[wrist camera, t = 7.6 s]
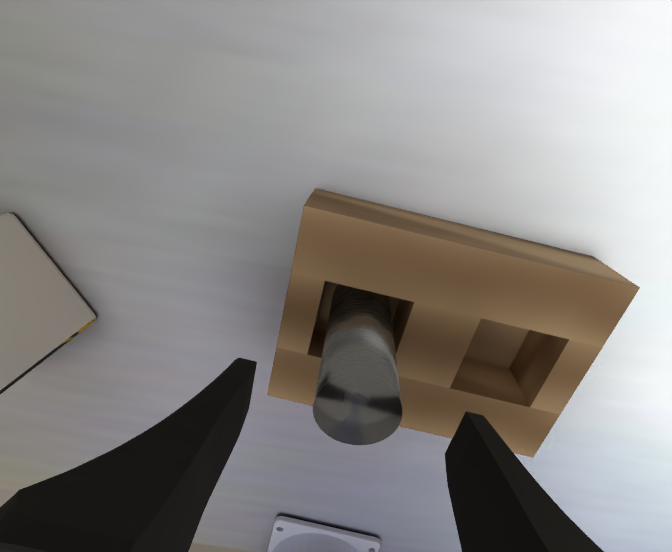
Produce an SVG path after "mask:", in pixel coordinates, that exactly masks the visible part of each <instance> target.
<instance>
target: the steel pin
mask: <svg viewBox="0 0 672 552" xmlns="http://www.w3.org/2000/svg"><path fill="white" fill-rule="evenodd" d="M402 413H403V412H402V402H401V394H400V386H399V377H398V369H397V361H396V353H395V344H394V336H393V328H392V319H391V311H390V303H389V296H387V295H383V294H379V293H374V292H370V291H366V290H362V289H358V288H354V287H349V286H345V285H341V284H338V286H337V287H336V288H335V290H334V292H333V296H332V302H331V307H330V313H329V319H328V324H327V330H326V336H325V341H324V347H323V353H322V358H321V364H320V370H319V376H318V381H317V387H316V393H315V398H314V404H313V414H314V418H315V421H316V422H317V424H318V426H319V427H320V428H321V429H322V431H323V432H324V433H326V434H327V435H328V436H330V437H331V438H333V439H335V440H337V441H340V442H343V443H346V444H352V445H367V444H373V443H376V442H379V441H382V440H384V439H386V438H387V437H389V436H390V435H391V434H392V433H394V431H395V430H396V429H397V428H398V426H399V424H400V422H401V419H402Z"/></svg>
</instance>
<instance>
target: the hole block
mask: <svg viewBox="0 0 672 552" xmlns="http://www.w3.org/2000/svg"><path fill="white" fill-rule="evenodd" d="M338 284H341V285H345V286H349V287H354V288H358V289H362V290H366V291H370V292H374V293H379V294H383V295H387V296H389V303H390V311H391V319H392V328H393V336H394V344H395V353H396V361H397V369H398V377H399V386H400V394H401V402H402V412H403V413H402V419H401V422H400V424H399V426H401V427H405V428H409V429H414V430H418V431H422V432H426V433H431V434H435V435H439V436H444V437H448V438H453V436H454V434H455V432H456V430H457V428H458V426H459V424H460V422H461V420H462V418H463V416H464V414H465V412H466V411H467V412H471V413H475V414H480V415H483V416H484V417H485V418H486V419H487V420H488V422H489V423H490V424H491V425H492V426H493V428H494V429H495V430H496V432H497V433H498V434H499V435H500V437H501V438H502V439H503V441H504V442H505V443H506V444H507V446H508V447H509V448H510V449H511V451H512V452H513V453H516V454H520V455H525V456H529V457H534V455H535V454H536V452H537V450H538V449H539V447H540V446H541V444H542V442H543V441H544V439H545V438H546V436H547V435H548V433H549V431H550V430H551V428H552V427H553V425H554V423H555V422H556V420H557V419H558V417H559V415H560V414H561V412H562V411H563V409H564V408H565V406H566V404H567V403H568V401H569V400H570V398H571V396H572V395H573V393H574V392H575V390H576V388H577V387H578V385H579V384H580V382H581V381H582V379H583V377H584V376H585V374H586V373H587V371H588V369H589V368H590V366H591V365H592V363H593V361H594V360H595V358H596V357H597V355H598V354H599V352H600V350H601V349H602V347H603V346H604V344H605V342H606V341H607V339H608V338H609V336H610V334H611V333H612V331H613V330H614V328H615V327H616V325H617V323H618V322H619V320H620V319H621V317H622V315H623V314H624V312H625V311H626V309H627V307H628V306H629V304H630V303H631V301H632V299H633V298H634V296H635V295H636V293H637V292H638V290H639V288H640V287H638V286H637V285H635V284H634V283H632V282H631V281H629V280H628V279H626V278H625V277H623V276H622V275H620V274H619V273H617V272H616V271H614V270H613V269H611V268H610V267H608V266H607V265H605V264H604V263H602V262H601V261H599V260H598V259H596V258H595V257H592V256H588V255H584V254H580V253H576V252H572V251H568V250H564V249H560V248H556V247H552V246H547V245H543V244H539V243H535V242H531V241H527V240H523V239H519V238H515V237H511V236H507V235H503V234H499V233H494V232H490V231H486V230H482V229H478V228H474V227H470V226H466V225H462V224H458V223H454V222H450V221H446V220H441V219H437V218H433V217H429V216H425V215H421V214H417V213H413V212H409V211H405V210H401V209H397V208H393V207H389V206H384V205H380V204H376V203H372V202H368V201H364V200H360V199H356V198H352V197H348V196H344V195H340V194H336V193H331V192H327V191H323V190H319V189H315V190H314V191H313V193H312V194H311V196H310V197H309V199H308V200H307V202H306V203H305V205H304V208H303V214H302V219H301V224H300V229H299V234H298V239H297V244H296V249H295V255H294V260H293V265H292V270H291V275H290V280H289V285H288V291H287V296H286V301H285V306H284V311H283V316H282V321H281V327H280V332H279V337H278V342H277V347H276V352H275V357H274V363H273V368H272V373H271V378H270V383H269V388H268V393H267V395H269V396H273V397H277V398H281V399H286V400H290V401H294V402H298V403H303V404H307V405H311V406H313V404H314V398H315V393H316V387H317V381H318V376H319V370H320V364H321V358H322V353H323V347H324V341H325V336H326V330H327V324H328V319H329V313H330V307H331V302H332V296H333V292H334V290H335V288H336V287H337V286H338Z"/></svg>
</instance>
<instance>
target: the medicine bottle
mask: <svg viewBox="0 0 672 552" xmlns="http://www.w3.org/2000/svg"><path fill="white" fill-rule="evenodd" d="M95 319H96V316H95V314H94V312H93V311H92V310H91V309H90V308H89V306H88V305H87V304H86V303H85V301H84V300H83V299H82V298H81V296H80V295H79V294H78V293H77V291H76V290H75V289H74V288H73V287H72V285H71V284H70V283H69V282H68V280H67V279H66V278H65V277H64V275H63V274H62V273H61V272H60V270H59V269H58V268H57V267H56V266H55V264H54V263H53V262H52V261H51V259H50V258H49V257H48V256H47V254H46V253H45V252H44V251H43V249H42V248H41V247H40V246H39V245H38V243H37V242H36V241H35V240H34V238H33V237H32V236H31V235H30V233H29V232H28V231H27V230H26V228H25V227H24V226H23V225H22V224H21V222H20V221H19V220H18V219H17V217H16V216H14V215H13V214H10V213H6V214H2V215H0V394H1V393H3V392H4V391H5V390H7V389H8V388H9V387H10V386H12V385H13V384H14V383H16V382H17V381H18V380H19V379H21V378H22V377H23V376H25V375H26V374H27V373H28V372H30V371H31V370H32V369H34V368H35V367H36V366H37V365H39V364H40V363H41V362H43V361H44V360H45V359H46V358H48V357H49V356H50V355H52V354H53V353H54V352H55V351H57V350H58V349H59V348H61V347H62V346H63V345H64V344H66V343H67V342H68V341H70V340H71V339H72V338H73V337H75V336H76V335H77V334H79V333H80V332H81V331H82V330H84V329H85V328H86V327H88V326H89V325H90V324H91V323H93V322H94V321H95Z"/></svg>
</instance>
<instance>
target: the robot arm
mask: <svg viewBox="0 0 672 552" xmlns="http://www.w3.org/2000/svg"><path fill="white" fill-rule="evenodd" d="M256 364H257V362H255V361H251V360H247V359H242V358H238V359H236V360H235V361H234V362H233V363H232V364H231V365H230V366H229V367H228V368H227V369H226V370H225V371H224V372H222V373H221V374H220V375H219V376H218V377H217V378H216V379H215V380H214V381H213V382H212V383H210V384H209V385H208V386H207V387H206V388H204V389H203V390H202V391H201V392H200V393H199V394H197V395H196V396H195V397H194V398H192V399H191V400H190V401H188V402H187V403H186V404H184V405H183V406H182V407H180V408H179V409H178V410H176V411H175V412H174V413H172V414H171V415H169V416H168V417H167V418H165V419H164V420H162V421H161V422H159V423H158V424H156V425H154V426H153V427H151V428H150V429H148V430H147V431H145V432H143V433H142V434H140V435H138V436H136V437H135V438H133V439H131V440H129V441H128V442H126V443H124V444H122V445H121V446H119V447H117V448H115V449H113V450H111V451H109V452H107V453H105V454H103V455H101V456H99V457H97V458H95V459H93V460H91V461H88V462H86V463H84V464H82V465H80V466H78V467H76V468H74V469H71V470H69V471H67V472H64V473H62V474H59V475H57V476H54V477H52V478H49V479H47V480H44V481H41V482H39V483H36V484H34V485H31V486H29V487H26V488H23V489H20V490H19V491H18V492H17V493H16V494H15V495H14V496H13V497H12V498H10V499H9V500H8V501H7V502H6V503H5V504H4V505H2V506H1V507H0V552H188V551H189V548H190V546H191V543H192V540H193V538H194V535H195V532H196V530H197V527H198V524H199V522H200V519H201V516H202V514H203V512H204V509H205V507H206V505H207V502H208V500H209V498H210V496H211V494H212V492H213V490H214V488H215V486H216V483H217V481H218V479H219V477H220V475H221V473H222V471H223V469H224V467H225V465H226V463H227V460H228V458H229V456H230V454H231V452H232V450H233V448H234V446H235V444H236V442H237V439H238V437H239V435H240V432H241V429H242V426H243V424H244V421H245V418H246V415H247V412H248V409H249V404H250V399H251V393H252V387H253V381H254V375H255V370H256ZM445 460H446V472H447V482H448V488H449V493H450V498H451V503H452V507H453V512H454V516H455V521H456V525H457V530H458V534H459V539H460V544H461V548H462V552H604V551H603V550H602V549H600V548H599V547H598V546H597V545H596V544H595V543H594V542H593V541H592V540H591V539H590V538H589V537H588V536H587V535H586V534H585V533H584V532H583V531H582V530H581V529H580V528H579V527H578V526H577V525H576V524H575V523H574V522H573V521H572V520H571V519H570V518H569V517H568V516H567V515H566V514H565V513H564V512H563V511H562V510H561V509H560V508H559V506H558V505H557V504H556V503H555V502H554V501H553V500H552V499H551V498H550V496H549V495H548V494H547V493H546V492H545V491H544V490H543V488H542V487H541V486H540V485H539V484H538V483H537V482H536V480H535V479H534V478H533V477H532V476H531V474H530V473H529V472H528V471H527V469H526V468H525V467H524V466H523V465H522V463H521V462H520V461H519V460H518V458H517V457H516V456H515V455H514V453H513V452H512V451H511V449H510V448H509V447H508V446H507V444H506V443H505V442H504V441H503V439H502V438H501V437H500V435H499V434H498V433H497V432H496V430H495V429H494V428H493V426H492V425H491V424H490V423H489V422H488V420H487V419H486V418H485V417H484V416H483V415H480V414H475V413H471V412H467V411H466V412H465V414H464V416H463V418H462V420H461V422H460V424H459V426H458V428H457V430H456V432H455V434H454V436H453V438H452V440H451V443H450V445H449V447H448V449H447V451H446V453H445ZM379 549H380V540H379V539H378V538H376V537H373V536H368V535H364V534H360V533H355V532H351V531H346V530H342V529H338V528H333V527H329V526H325V525H320V524H316V523H311V522H307V521H303V520H298V519H294V518H289V517H285V516H278V517H276V519H275V523H274V527H273V531H272V535H271V539H270V543H269V547H268V551H267V552H378V551H379Z"/></svg>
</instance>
